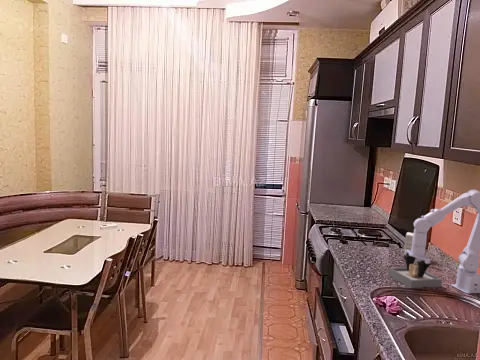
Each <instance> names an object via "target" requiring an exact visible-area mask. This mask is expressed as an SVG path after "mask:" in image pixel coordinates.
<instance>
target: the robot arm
mask: <svg viewBox="0 0 480 360" xmlns="http://www.w3.org/2000/svg"><path fill="white" fill-rule="evenodd" d="M471 206H473V208H474V210H475V211H476V212H477V213H476V218H475V220H474V224H473V226H472V229H471V233H470V234H469V238H468V241H467V244H466V246H465V247H464V248H463V251H462V252H461V253H460V254H459V255H458V259H457V260H458V262H459V265H458V266H457V267H458V268H457V273H456V274H457V275H456V280H455V281H456V282H455V283H453V284H452V283H451V284H450V286H451V287H453V288H456V289H458V290H459V291H462V292H463V293H465V294H468V295H469V294H480V274H479V273H478V271H477V270H478V269H479V267H480V262H479V260H480V191H479V190H477V189H470V190H468V191H467V192H464V193H462V194H461V195H459V196H458V197H456V198H455V199H453V200H452V201H451V202H449V203H447V204H446V205H444V206H443V207H441V208H432V209H430V211H429V212H428V213H426V214H425V215H421V216H420V217H418V218H417V219H415V220H414V221H413V223H412V224H413V227H414V229H413V233H414V234H413V240H412V248H411V250H409V249H408V250H405V254H406V255H404V257H403V258H404V260H405V265H406V267H407V271H409V265H410V264H415V259H416V258H417V259H419V260H421V261H417V263H418V277H423V276H424V273H425V271H426V272H427V270H428V268H429V267H430V266H431V261H432V260H431V259H430V258H429V257H428V258H427V257H426V256H425V255H426V254H425V252H426V245H427V237H428V236H427V234H428V231H429V230H430V228H432V227H434V226H435V225H437V224H439V223H441V222H443V221H444V220H445V217H446V216H447V215H448V214H450V213H452V212H454V211H456V210H457V209H459V208H461V207H471Z"/></svg>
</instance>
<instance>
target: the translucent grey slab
mask: <svg viewBox="0 0 480 360" xmlns="http://www.w3.org/2000/svg"><path fill="white" fill-rule="evenodd" d="M424 255H425V256H426V257H427V258H429V257H430V255H432V251H431V250H428V251H427V252H426V254H424ZM417 261H421V260H419V259H417V258H416V259H415V261H414V264H418V263H417Z"/></svg>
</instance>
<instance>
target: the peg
mask: <svg viewBox="0 0 480 360" xmlns="http://www.w3.org/2000/svg"><path fill="white" fill-rule="evenodd" d="M408 275H409V276H410V277H412V278H421V277H418V264H415V263H414V264H410V265H409V273H408Z"/></svg>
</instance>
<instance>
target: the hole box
mask: <svg viewBox="0 0 480 360" xmlns="http://www.w3.org/2000/svg"><path fill="white" fill-rule="evenodd" d="M408 273H409V271H407V266H406V267H389V268H388V274H387V275H388V276H389V277H391V278H392V279H394V280H395V281H397V282H400V283H401V284H403V285H405V286H407V287H408V288H409V287H410V288H409V289H423V287H430V288H442V285H443V284H442V283H443V279H442V278H440V277H438V276H436V275H434V274H432V273H431V272H428V271H427V270H426V271H425V273H424V276H423V277H421V278H412V277H410V276H409V275H408Z"/></svg>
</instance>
